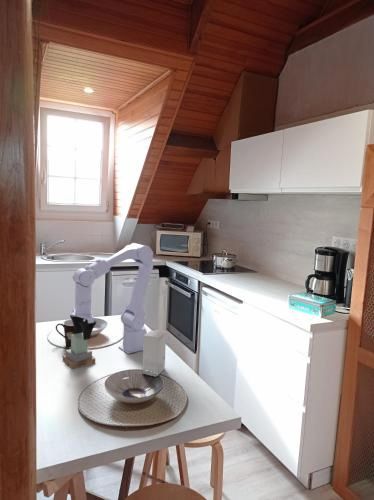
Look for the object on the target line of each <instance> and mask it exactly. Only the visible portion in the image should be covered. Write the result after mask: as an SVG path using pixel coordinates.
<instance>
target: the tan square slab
mask: <svg viewBox="0 0 374 500" xmlns="http://www.w3.org/2000/svg"><path fill="white" fill-rule="evenodd" d="M65 356H66V354H63V355H62V360H63V362H65V363H66V364H67V365H68V366H69V367H70V368H71V369H72V370H73V369H77V368H81V367H85V366H88V365H93V364H96V358H95V357H94V356H93V355H92V358H89V359H86V360H83V361H79V362H76V363H75V362H73V361H72V360H70V359H69V358H67V357H65Z"/></svg>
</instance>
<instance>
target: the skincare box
mask: <svg viewBox="0 0 374 500" xmlns="http://www.w3.org/2000/svg"><path fill="white" fill-rule="evenodd" d="M166 338H167V331H166V330H161V329H160V330H159V329H154V328H152V329H151V330H149V331H147V334H145V335H144V340H143V350H142V370H148V371H152V372H155V373H158V374H159V375H160V374H161V373H162V372H163V371H164V370H166V369H165V367H166V364H165V363H166V347H167V346H166V344H167V343H166V342H167V341H166V340H167V339H166ZM142 370H141V371H142Z"/></svg>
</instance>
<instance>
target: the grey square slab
mask: <svg viewBox="0 0 374 500" xmlns="http://www.w3.org/2000/svg"><path fill="white" fill-rule="evenodd" d="M65 355H66V356H65V357H67V358H69V359H70V360H72V361H73V362H75V363H76V362H79V361H83V360H86V359H89V358H92V356H93V350H91V349H89V348H87V352H84V353H79V354H75V353H74V352H73V351H71V348H68V349H66V350H65Z"/></svg>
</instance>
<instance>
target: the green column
mask: <svg viewBox="0 0 374 500" xmlns="http://www.w3.org/2000/svg"><path fill="white" fill-rule="evenodd" d="M88 341H89V339H88V340H84V338H83V333H78V334H73V335H71V348H70V349H71V351H73V352H74V353H75V354H79V353H84V352H87V349H89V348H88V345H89V342H88Z"/></svg>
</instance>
